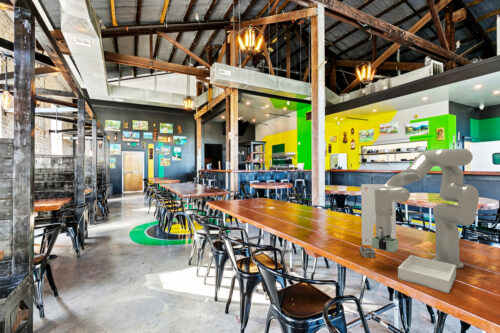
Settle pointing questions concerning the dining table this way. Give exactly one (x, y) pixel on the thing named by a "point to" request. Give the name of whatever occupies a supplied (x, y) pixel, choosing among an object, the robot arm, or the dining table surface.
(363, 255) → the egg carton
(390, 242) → the small crate
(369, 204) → the notched grey plate
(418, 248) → the dining table surface
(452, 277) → the light grey tray
